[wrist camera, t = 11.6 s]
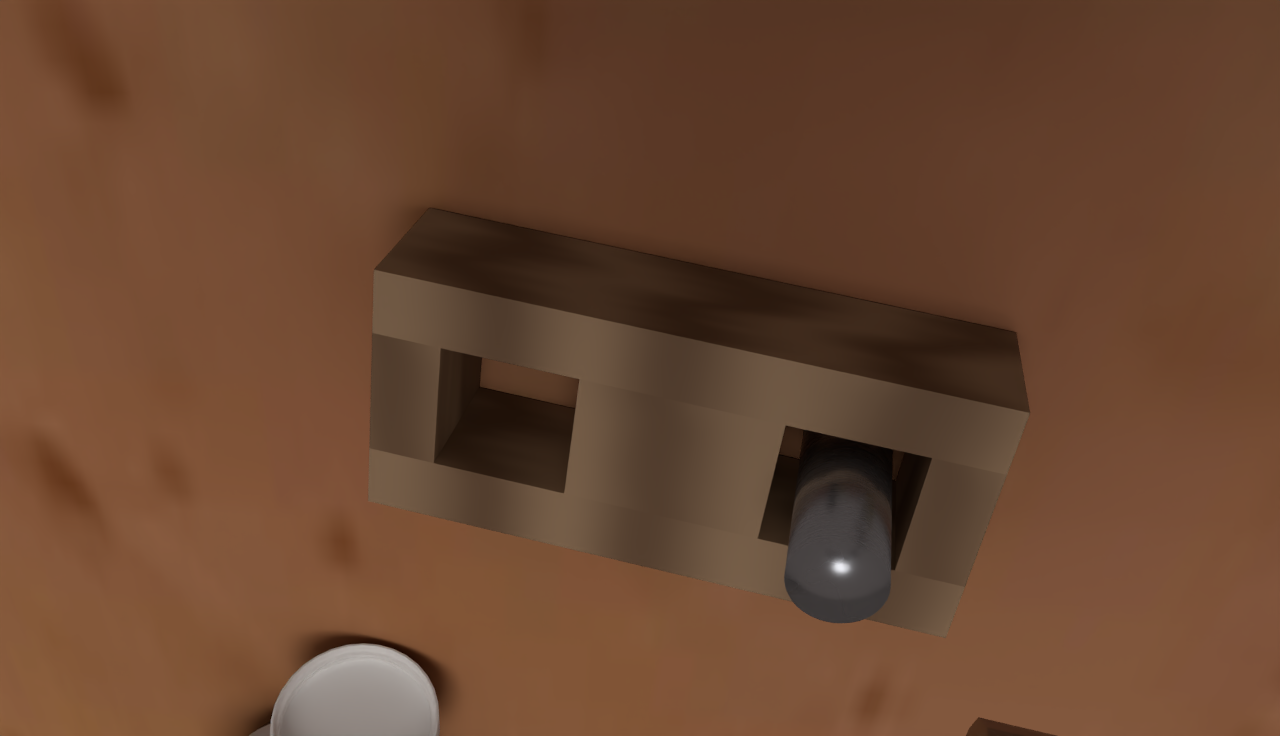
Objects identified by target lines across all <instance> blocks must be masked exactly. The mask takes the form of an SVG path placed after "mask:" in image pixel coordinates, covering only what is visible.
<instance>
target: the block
mask: <svg viewBox="0 0 1280 736" xmlns="http://www.w3.org/2000/svg"><path fill="white" fill-rule="evenodd" d="M482 358H487V359H491V360H496V361H500V362H505V363H509V364H514V365H518V366H523V367H527V368H532V369H536V370H541V371H545V372H549V373H554V374H558V375H563V376H567V377H572V378H576V379H579V387H578V394H577V402H576V409H573V408H569V407H564V406H560V405H556V404H551V403H547V402H542V401H538V400H533V399H529V398H525V397H520V396H516V395H511V394H507V393H502V392H498V391H494V390H489V389H485V388H480V387H479V385H480V372H481V360H482ZM1029 415H1030V410H1029V404H1028V398H1027V392H1026V387H1025V381H1024V375H1023V369H1022V363H1021V358H1020V352H1019V346H1018V340H1017V334H1016V332H1011V331H1006V330H1002V329H997V328H992V327H988V326H983V325H978V324H974V323H969V322H964V321H959V320H955V319H950V318H945V317H941V316H936V315H931V314H927V313H922V312H917V311H912V310H908V309H903V308H898V307H894V306H889V305H884V304H879V303H875V302H870V301H865V300H861V299H856V298H851V297H847V296H842V295H837V294H832V293H828V292H823V291H818V290H814V289H809V288H804V287H800V286H795V285H790V284H785V283H781V282H776V281H771V280H767V279H762V278H757V277H753V276H748V275H743V274H738V273H734V272H729V271H724V270H720V269H715V268H710V267H705V266H701V265H696V264H691V263H687V262H682V261H677V260H673V259H668V258H663V257H658V256H654V255H649V254H644V253H640V252H635V251H630V250H626V249H621V248H616V247H611V246H607V245H602V244H597V243H593V242H588V241H583V240H579V239H574V238H569V237H564V236H560V235H555V234H550V233H546V232H541V231H536V230H531V229H527V228H522V227H517V226H513V225H508V224H503V223H499V222H494V221H489V220H484V219H480V218H475V217H470V216H466V215H461V214H456V213H452V212H447V211H442V210H437V209H433V208H429V209H428V210H427V211H426V212H425V213H424V214H423V216H422V217H421V218H420V219H419V220H418V221H417V222H416V223H415V224H414V226H413V227H412V228H411V229H410V230H409V231H408V232H407V233H406V234H405V236H404V237H403V238H402V239H401V240H400V241H399V242H398V243H397V244H396V246H395V247H394V248H393V249H392V250H391V251H390V252H389V253H388V255H387V256H386V257H385V258H384V259H383V260H382V261H381V262H380V263H379V265H378V266H377V267H376V268H375V269H374V286H373V326H372V367H371V407H370V447H369V488H368V501H370V502H375V503H379V504H383V505H387V506H392V507H396V508H400V509H404V510H408V511H413V512H417V513H421V514H425V515H429V516H434V517H438V518H442V519H446V520H451V521H455V522H459V523H463V524H467V525H472V526H476V527H480V528H484V529H488V530H493V531H497V532H501V533H505V534H510V535H514V536H518V537H522V538H526V539H531V540H535V541H539V542H543V543H547V544H552V545H556V546H560V547H564V548H569V549H573V550H577V551H581V552H585V553H590V554H594V555H598V556H602V557H606V558H611V559H615V560H619V561H623V562H628V563H632V564H636V565H640V566H644V567H649V568H653V569H657V570H661V571H665V572H670V573H674V574H678V575H682V576H687V577H691V578H695V579H699V580H703V581H708V582H712V583H716V584H720V585H724V586H729V587H733V588H737V589H741V590H746V591H750V592H754V593H758V594H762V595H767V596H771V597H775V598H779V599H783V600H788V601H792V600H791V598H790V597H789V595H788V593H787V591H786V588H785V583H784V574H785V566H786V559H787V551H788V544H789V536H790V529H791V521H792V514H793V506H794V499H795V491H796V484H797V476H798V469H799V461H800V460H799V459H794V458H790V457H786V456H781V455H778V454H779V450H780V446H781V442H782V438H783V434H784V430H785V426H791V427H795V428H800V429H804V430H809V431H813V432H818V433H822V434H827V435H831V436H836V437H840V438H845V439H849V440H853V441H858V442H862V443H867V444H871V445H876V446H880V447H885V448H889V449H894V450H898V451H903V452H905V454H904V457H903V460H902V464H901V467H900V470H899V473H898V476H897V479H896V481H892V534H891V589H890V594H889V597H888V599H887V601H886V602H885V604H884V605H883V606H882V608H881V609H880V610H878V611H877V612H876V613H875V614H873V615H872V616H870V617H868V618H866V619H868V620H872V621H876V622H880V623H885V624H889V625H893V626H897V627H901V628H906V629H910V630H914V631H918V632H922V633H927V634H931V635H935V636H939V637H944V638H946V636H947V633H948V630H949V628H950V625H951V622H952V620H953V617H954V614H955V612H956V609H957V606H958V604H959V601H960V598H961V596H962V593H963V590H964V588H965V585H966V582H967V580H968V577H969V574H970V572H971V569H972V566H973V564H974V561H975V558H976V556H977V553H978V550H979V548H980V545H981V542H982V540H983V537H984V534H985V532H986V529H987V526H988V524H989V521H990V518H991V516H992V513H993V510H994V508H995V505H996V502H997V500H998V497H999V494H1000V492H1001V489H1002V487H1003V484H1004V481H1005V479H1006V476H1007V473H1008V471H1009V468H1010V465H1011V463H1012V460H1013V457H1014V455H1015V452H1016V449H1017V447H1018V444H1019V441H1020V439H1021V436H1022V433H1023V431H1024V428H1025V425H1026V423H1027V420H1028V417H1029ZM792 602H793V601H792Z"/></svg>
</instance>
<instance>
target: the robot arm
mask: <svg viewBox="0 0 1280 736" xmlns="http://www.w3.org/2000/svg"><path fill="white" fill-rule="evenodd" d="M966 736H1056V735H1052V734H1048V733H1043V732H1039V731H1035V730H1031V729H1026V728H1022V727H1018V726H1013V725H1009V724H1005V723H1001V722H996V721H992V720H988V719H984V718H979V717H978V718H977V720H976V721H975V722H974V723H973V724H972V726H971V727H970V728H969V730H968V732H967V735H966Z"/></svg>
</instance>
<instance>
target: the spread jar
mask: <svg viewBox="0 0 1280 736" xmlns="http://www.w3.org/2000/svg"><path fill="white" fill-rule="evenodd" d="M439 733H440V722H439V704H438V700H437V696H436V692H435V689H434V687H433V685H432V683H431V681H430V679H429V677H428V675H427V674H426V673H425V672H424V670H423V669H422V668H421V667H420V666H419V664H417V663H416V662H415V661H413V660H412V659H411V658H410V657H408V656H407V655H405V654H403V653H401V652H399V651H397V650H395V649H393V648H390V647H386V646H382V645H378V644H367V643H360V644H349V645H344V646H340V647H337V648H333V649H330V650H328V651H326V652H324V653H321V654H319V655H317V656H316V657H314V658H313V659H311V660H310V661H308V662H307V663H305V664H304V665H303V666H302V667H300V668H299V669H298V670H297V671H296V672H295V673H294V674H293V675H292V676H291V677H290V679H289V680H288V682H287V683H286V684H285V686H284V687H283V689H282V690H281V692H280V694H279V696H278V698H277V701H276V703H275V705H274V709H273V713H272V717H271V721H269V722H268V723H266V724H265V725H263V726H262V727H260V728H259V729H257V730H256V731H254V732H253V733H251V734H250V735H249V736H439Z"/></svg>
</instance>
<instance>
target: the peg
mask: <svg viewBox="0 0 1280 736" xmlns="http://www.w3.org/2000/svg"><path fill="white" fill-rule="evenodd" d="M892 462H893V449H889V448H885V447H880V446H876V445H871V444H867V443H862V442H858V441H853V440H849V439H845V438H840V437H836V436H831V435H827V434H822V433H818V432H813V431H809V430H804V431H803V439H802V446H801V454H800V461H799V469H798V476H797V484H796V491H795V499H794V506H793V514H792V521H791V529H790V536H789V544H788V551H787V559H786V566H785V574H784V583H785V588H786V591H787V593H788V595H789V597H790V598H791V600H792V601H793V603H794V604H795V605H796V606H797V607H798V608H800V609H801V610H802V611H803V612H805V613H806V614H808V615H810V616H812V617H814V618H817V619H819V620H823V621H826V622H832V623H851V622H856V621H860V620H863V619H866V618H868V617H870V616H872V615H873V614H875V613H876V612H877V611H878V610H880V609H881V608H882V606H883V605H884V604H885V602H886V601H887V599H888V597H889V594H890V589H891V534H892Z"/></svg>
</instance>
